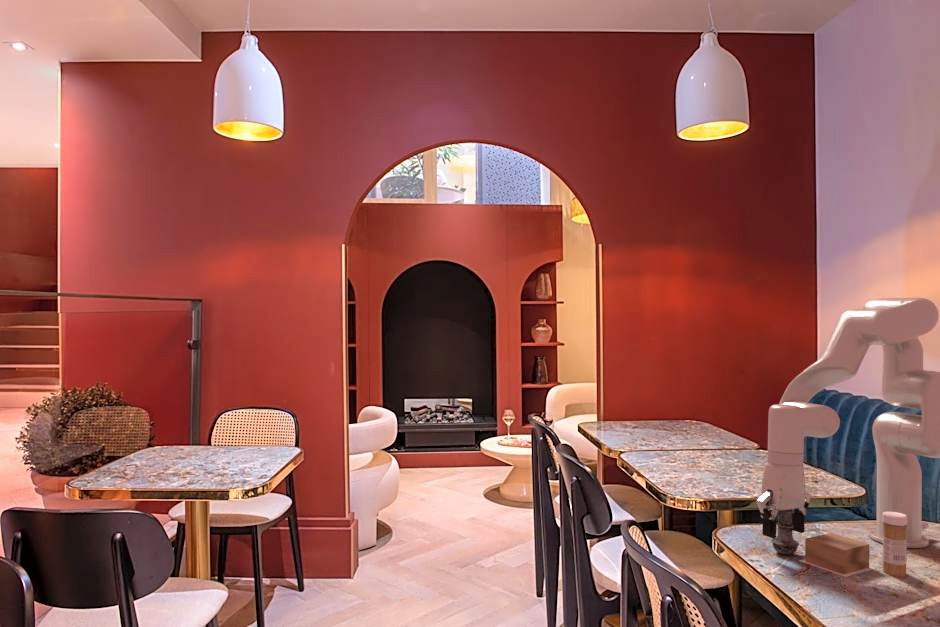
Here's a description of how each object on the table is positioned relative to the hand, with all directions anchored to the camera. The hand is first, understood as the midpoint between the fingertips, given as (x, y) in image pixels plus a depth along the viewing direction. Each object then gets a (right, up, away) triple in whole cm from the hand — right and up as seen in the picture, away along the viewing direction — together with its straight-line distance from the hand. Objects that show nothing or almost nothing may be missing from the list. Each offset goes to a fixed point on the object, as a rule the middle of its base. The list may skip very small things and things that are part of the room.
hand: (783, 533), depth 162 cm
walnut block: (+9, -5, -7) cm, 12 cm away
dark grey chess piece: (0, -6, 0) cm, 6 cm away
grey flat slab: (+8, -6, -7) cm, 12 cm away
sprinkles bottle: (+18, -6, -12) cm, 23 cm away
